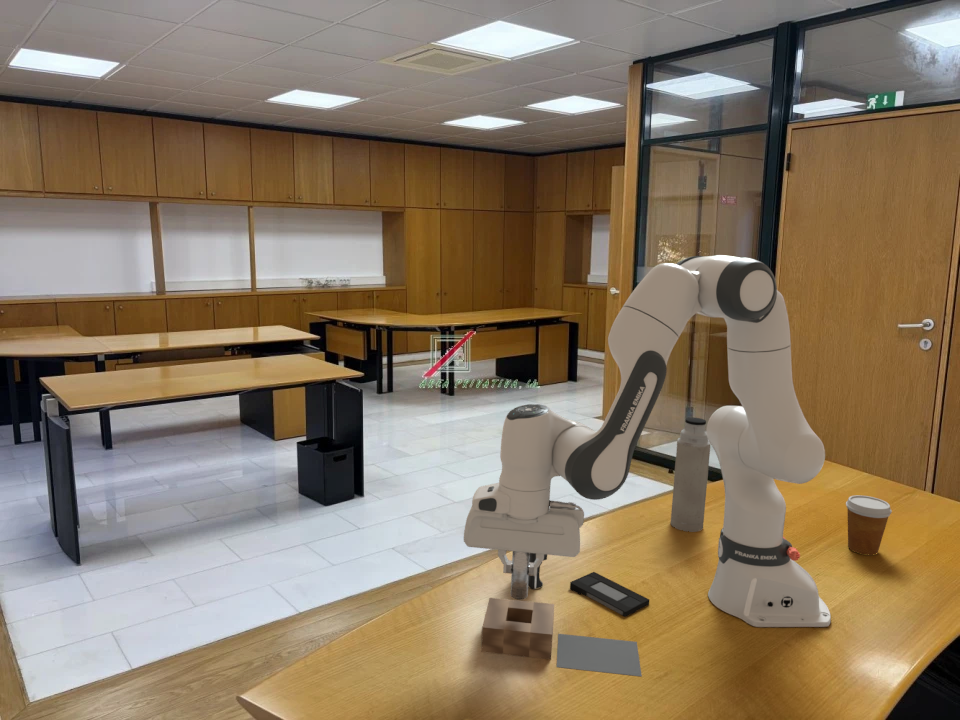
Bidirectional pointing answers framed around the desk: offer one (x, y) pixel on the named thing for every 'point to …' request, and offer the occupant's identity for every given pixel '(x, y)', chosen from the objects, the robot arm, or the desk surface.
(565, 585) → the desk surface
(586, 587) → the vhs tape
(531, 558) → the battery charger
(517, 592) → the peg
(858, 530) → the disposable coffee cup
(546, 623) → the hole block
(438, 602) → the desk surface
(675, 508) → the thermos bottle
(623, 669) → the mat
